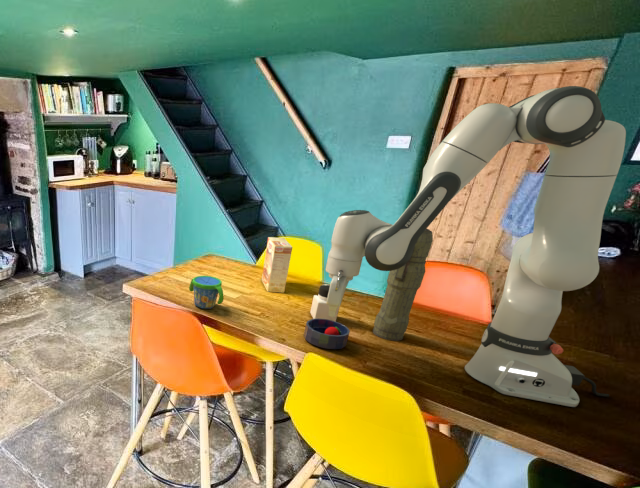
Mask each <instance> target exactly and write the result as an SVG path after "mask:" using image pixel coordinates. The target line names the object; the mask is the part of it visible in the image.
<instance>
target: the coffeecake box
mask: <svg viewBox="0 0 640 488" xmlns="http://www.w3.org/2000/svg"><path fill="white" fill-rule="evenodd" d="M292 252H293V246H292V245H291V243H289V242H288V241H287V239H286V238H285V237H276V236H275V237H274V236H268V237H267V242H266V248H265V256H264V262H263V267H262V275H261V282H262V284H263V286H264V288H265V290H266V291H267V292H269V293H285V291H286V285H287V280H288V279H287V278H288V274H289V269H290V262H291V258H292V257H291V256H292Z"/></svg>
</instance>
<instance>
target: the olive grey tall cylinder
mask: <svg viewBox="0 0 640 488" xmlns="http://www.w3.org/2000/svg"><path fill="white" fill-rule="evenodd" d="M433 237H434V236H433V231H432V230H431V229H429V228H427V229H426V230H425V231H424V232H423V233H422V235H421V236H420V237H419V238H418V240H417V242H416V244H415V247H414V250H413V253H412V256H411V258H410V259H409V261H408V262H407V263H406V264H405V265H404V266H402V267H401V268H399V269H396V270H392V271H388V276H387V279H386V282H387V283H386V284H387V285H386V289H385V292H384V294H383V295H384V296H383V300H382V301H381V305H380V309H379V311H378V313H377V314H376V316H375V319H374V322H373V328H372V333H373V335H375V336H376V337H377V338H380V339H384V340H387V341H395V342H397V341H402V340H403V339H404V335H405V333H406V332H407V329H408V327H409V322H410V314H411V311H412V307H413V305H414V301H415V298H416V295H417V292H418V290H419V289H420V288H421V285H422V282H423V280H424V277H425V274H426V262H427V258H428V257H429V253H430V251H431V249H432V248H431V247H432V245H433V242H434V238H433Z"/></svg>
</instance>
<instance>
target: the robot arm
mask: <svg viewBox="0 0 640 488" xmlns="http://www.w3.org/2000/svg"><path fill="white" fill-rule="evenodd" d="M626 137H627V131H626V128H625V126H624V125H623V124H621V123H619V122H617V121H613V120H609V119H606V117H605V114H604V112H603V110H602V103H601V100H600V98H599V96H598V95H597V93H596V92H595V91H593V90H592V89H590V88H588V87H584V86H579V85H567V86H563V87H555V88H549V89H546V90H543V91H540V92H539V93H536V94H533V95H531V96H528V97H525V98H523V99H521V100H519V101H518V102H515V103H514V104H512V105H510V106H507V105H505V104H502V103H496V102H494V103H493V102H491V103H484V104H481V105H479V106H477V107H475V108H474V109H473V110H472V111H471V112H470V113H468V114H467V115H466V116H464V118H463V119H462V120H461V121H460V122H459V123H457V125H455V127H454V128H452V130H450V132H449V133H448V134H447V135H446V136H445V137H444V138H443V140H442V141H440V143H439V144H438V146H437V147H436V148H435V149H434V151H433V152H432V154H431V155H430V156H429V158H428V160H427V162H426V164H425V165H424V167H423V169H422V178H421V179H422V180H421V184H420V187H419V190H418V192H417V194H416V196H415V197H414V199H413V200H412V201H411V203H410V204H409V205H408V206H407V208H406V209H405V210H404V211H403V213H401V215H400V216H399V217H398V219H397V220H396V221H395V222H394V223H393V224H392V223H388V222H386V221H383V220H381V219H380V218H378V217H376V216H375V215H374V214H373V213H372V212H370V211H369V210H366V209H354V210H353V209H352V210H348V211H345V212H342V213H341V214H340V215H339V216H338V217H337V219H336V222H335V224H334V227H333V231H332V235H331V241H330V242H331V247H330V250H329V252H328V256H327V261H326V264H325V272H326V273H327V274H328V277H329V278H330V279H331V281H330V284H329V285H330V288H329V292H328V297H327V305H329V314H328V315H329V316H332V317H334V316H335V314H336V310H337V307H339V308H341V305H342V303H343V299H344V296H345V293H346V289H347V287H348V284H349V282H351V281H353V280H354V278H355V277H358V276H359V275H360V272H361V268H362V263H363V258H365V260H366V262H367V264H368V265H369V266H370V267H371V268H373V269H375V270H378V271H381V272H390V271H392V270H396V269H399V268H401V267H402V266H404V265H405V264H406V263H407V262H408V261H409V259H410V258H411V256H412V253H413V250H414V247H415V244H416V242H417V240H418V238H419V237H420V236H421V235H422V233H423V232H424V231H425V230H426V229H428V227H429V226H430V225H431V224H432V223H433V222H434V220H436V218H437V217H438V216H439V215H440V213H442V211H443V210H444V209H445V208H446V207H447V205H448V204H449V203H450V202H451V201H452V200H453V199H454V198H455V197H456V196H457V195H458V194H459V193H460V191H462V190H463V189H464V188H465V187H466V186H467V185H468V184H469V183H470V182H471V181H473V180H474V179H475V178H476V176H478V175H479V174H480V173H481V171H482V170H484V169H485V167H486V166H487V165H488V164H489V163H490V162H491V161H492V160H493V158H494V157H495V156H496V155H497V154H498V153H499V151H501V150H502V149H503V148H505V147H506V146H507V145H509V144H511V143H519V144H530V145H545V146H546V147H547V149H548V151H549V158H548V159H549V162H548V164H547V166H546V170H545V172H544V176H543V178H542V182H541V184H540V188H539V192H538V194H537V198H536V202H535V204H534V208H533V214H534V215H533V217H534V218H533V219H534V221H533V229H532V230H533V231H532V232H530V233H528V234H525V235H523V236H522V237H520V238H519V239H518V240H517V241H516V242H515V243H514V245H513V247H512V250H511V258H510V262H509V265H508V269H507V273H506V278H505V282H504V287H503V290H502V291H503V292H502V295H501V299H500V301H499V303H498V306H497V308H496V311H495V313H494V316H493V318H492V320H491V322H490V323H488V324H487V326H486V328H485V329H484V331H483V334H482V337H481V340H480V341H481V344H480V346H479V347H478V349H477V350H476V352H475V354H474V355H473V356H472V357H471V359H470V360H469V361H468V362H467V363H465V365H464V371H465V372H466V373H467V374H468V375H469V376H471V377H472V378H473V379H475V380H477V381H478V382H479V383H482V384H485V385H487V386H489V387H490V388H492V389H493V390H495V391H496V392H498V393H500V394H502V395H504V396H505V395H506V396H511V397H517V398H521V399H527V400H533V401H539V402H543V403H547V404H548V403H549V404H555V405H559V406H560V405H561V406H565V407H571V408H576V407H578V405H579V403H580V396H579V394H578V393H577V392H576V391H575V389H574V388H573V387H572V386H578V387H579V386H580V385H581V383H582V381H585V382H587V383H589V384H590V385H591V392H592V394H593V395H595V396H598V397H605V398H609V397H610V394H609V393H601V392H598V391H597V384H596V383H595V382H594V381H593V380H592V379H590V378H588V377H586V376H585V375H584V374H583V373H582V372H581V371H580V370H579V369H578V368H576V367H575V366H573V365H569V364H568V365H567V364H564V363H562V361H561V360H559V358H558V357H557V356H556V355H560V354H563V352H564V349H563V347H562V346H561V345H560V344H558V343H557V342H556V341H555V340H554V339H553V338H551V337H550V334H551V333H552V330H553V328H554V327H555V325H556V323H557V320H558V318H559V316H560V314H561V312H562V300H563V299H562V298H563V293H564V292H570V291H577V290H580V289H582V288H584V287H586V286H588V285H590V284H591V283H592V282H593V281H594V280H595V279H596V278H597V276H598V275H599V273H600V262H599V249H600V243H601V236H602V228H603V227H602V226H603V219H604V215H605V210H606V207H607V205H608V201H609V198H610V195H611V194H612V190H613V188H614V185H615V182H616V179H617V176H618V174H619V172H620V171H619V170H620V168H621V164H622V161H623V157H624V152H625V147H626V146H625V145H626Z"/></svg>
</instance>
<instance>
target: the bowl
mask: <svg viewBox="0 0 640 488" xmlns="http://www.w3.org/2000/svg"><path fill="white" fill-rule="evenodd" d="M329 327H338V328H339V330H340V331H341V334H340V335H338V336H336V335H328V334H325V330H326V329H327V328H329ZM350 332H351V331H350V329H349V327H348V326H346V325H344V324H343V323H341V322H338V321H336V322H335V321H332V320H327V319H313V318H311V319H308V320H307V321H306V323H305V327H304V332H303V338H304V340H305V341H307V342H308V343H309V344H312V345H313V346H316V347H318V348H322V349H326V350H341V349H344V348H345V347H347V343H348V340H349V336H350Z"/></svg>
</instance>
